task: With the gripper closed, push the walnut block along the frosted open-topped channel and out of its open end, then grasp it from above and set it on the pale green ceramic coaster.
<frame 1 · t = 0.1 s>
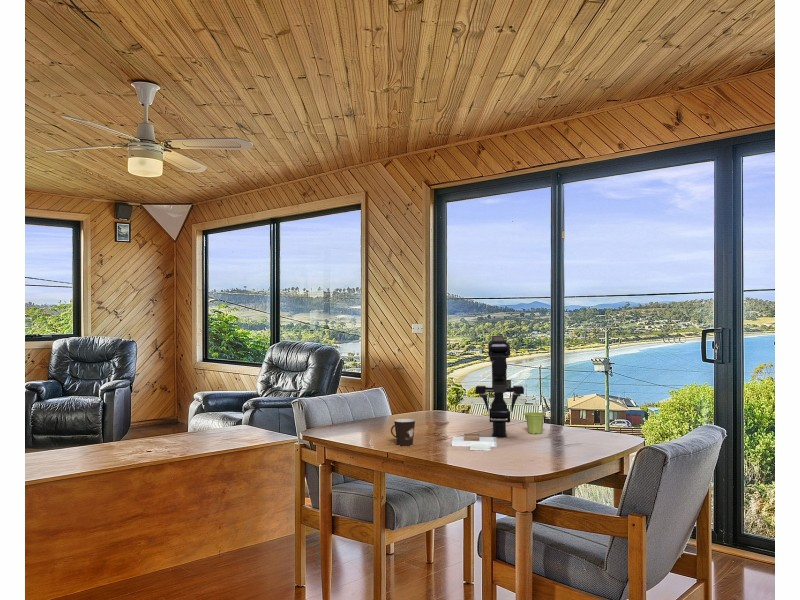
hand: (499, 411, 243), 14 cm above the table, tool pointing down, fingers open, 9 cm apart
coaster: (480, 448, 243), on the table
coffee mug: (401, 445, 252), on the table
plant pot: (535, 433, 277), on the table
block: (472, 444, 253), resting in channel
channel: (473, 444, 253), on the table
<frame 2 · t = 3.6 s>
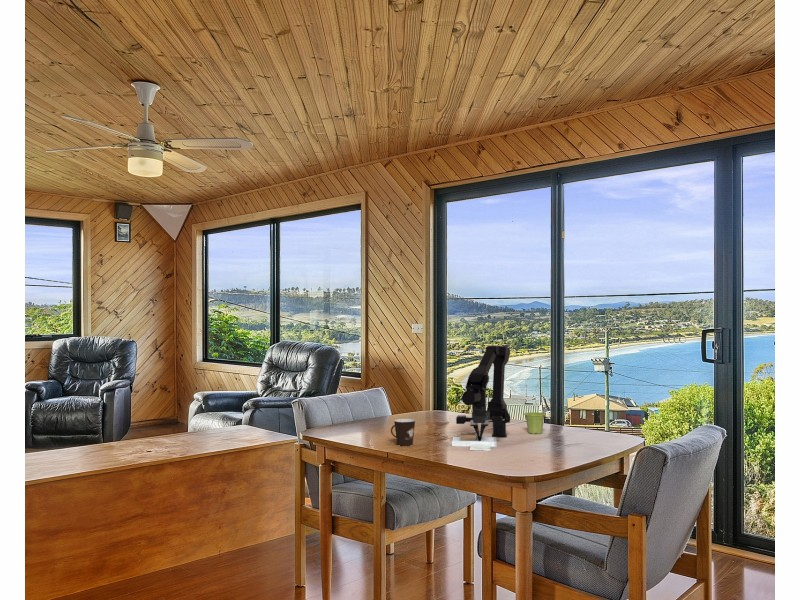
hand: (479, 441, 253), 1 cm above the table, tool pointing down, fingers closed
block: (468, 444, 253), resting in channel, touching gripper
everything else where it was.
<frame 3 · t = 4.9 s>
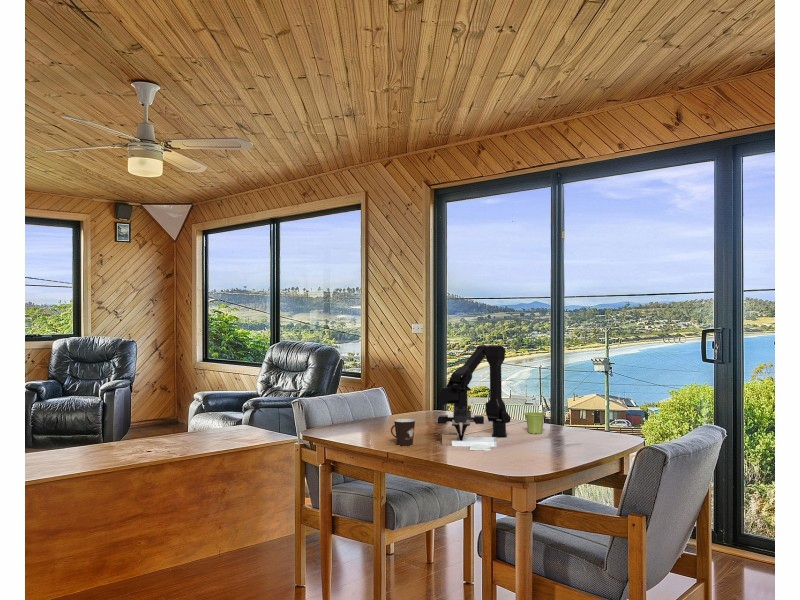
hand: (461, 440, 254), 1 cm above the table, tool pointing down, fingers closed
block: (449, 443, 254), on the table, touching gripper
everything else where it was.
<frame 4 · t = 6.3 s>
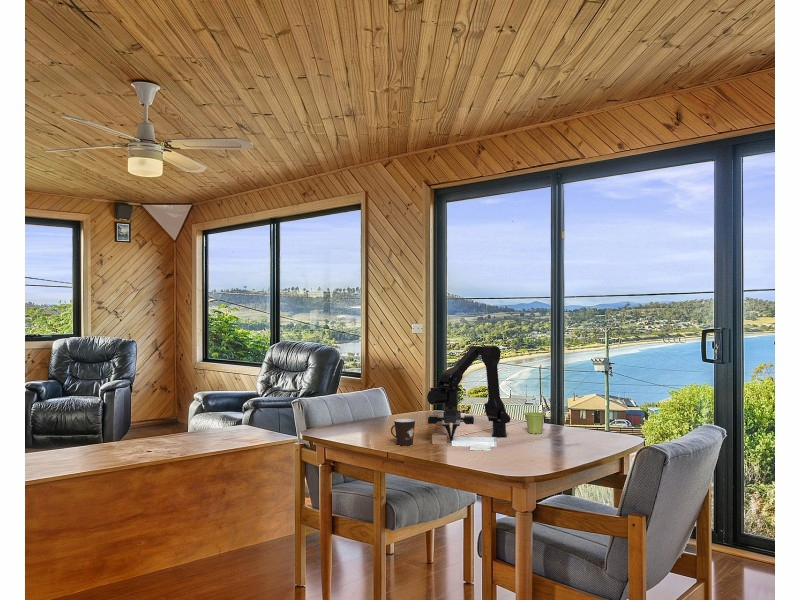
hand: (451, 440, 254), 1 cm above the table, tool pointing down, fingers closed
block: (439, 444, 255), on the table
everything else where it was.
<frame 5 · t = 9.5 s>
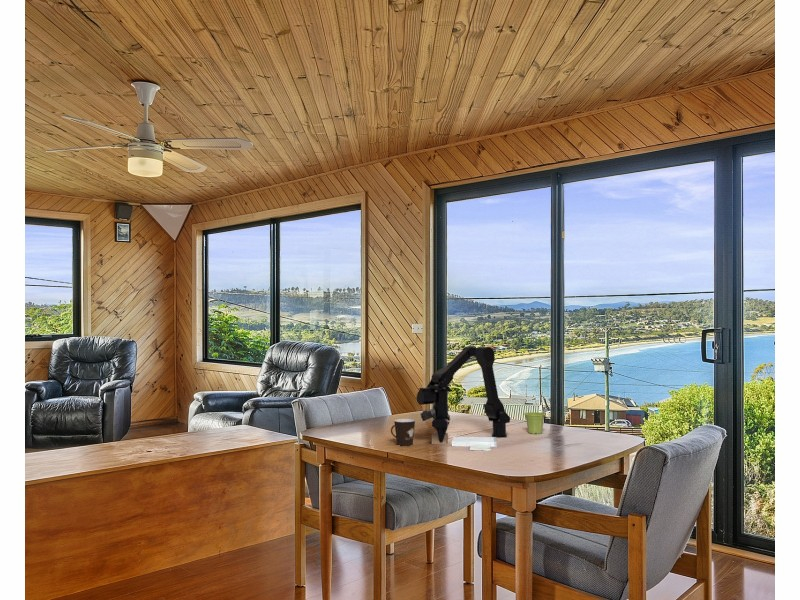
hand: (441, 441, 255), 1 cm above the table, tool pointing down, fingers closed on block, 5 cm apart
block: (439, 443, 255), on the table, touching gripper
everything else where it was.
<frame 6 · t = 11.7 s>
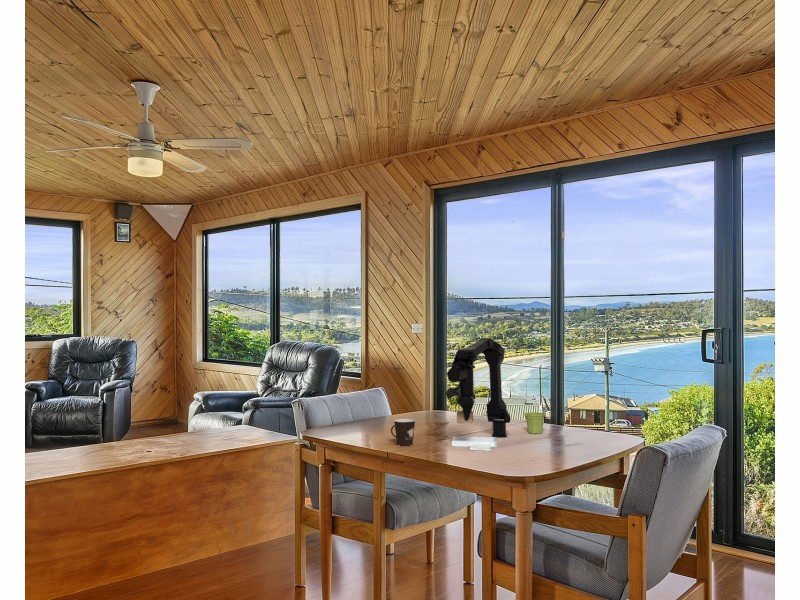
hand: (467, 419, 247), 11 cm above the table, tool pointing down, fingers closed on block, 5 cm apart
block: (465, 422, 248), point 10 cm above the table, touching gripper
everything else where it was.
when the fingers open (3 cm above the table, at t = 13.9 s): block drops 1 cm, resting on coaster.
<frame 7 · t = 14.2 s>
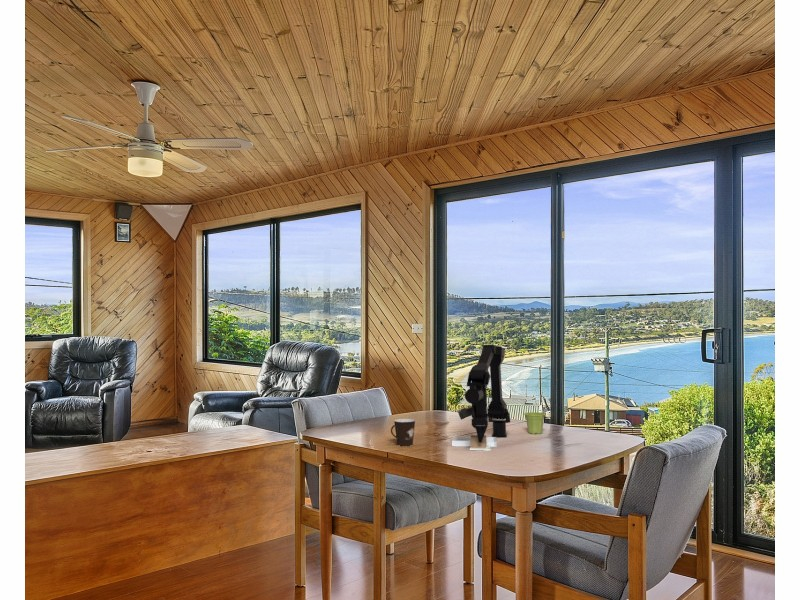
hand: (480, 440, 243), 3 cm above the table, tool pointing down, fingers open, 8 cm apart
block: (478, 446, 243), point 1 cm above the table, touching coaster
everything else where it was.
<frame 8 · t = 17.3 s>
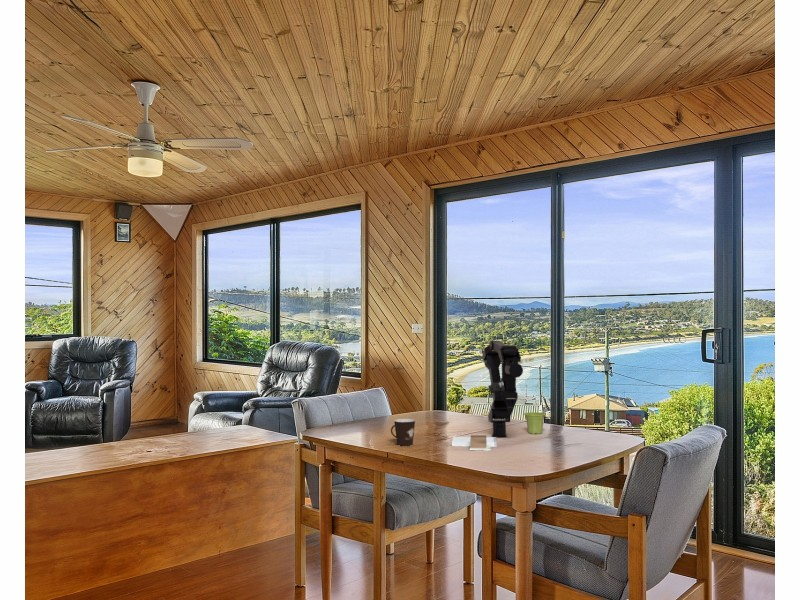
hand: (509, 413, 255), 12 cm above the table, tool pointing down, fingers open, 9 cm apart
nothing on the table moved.
at the end: block inside the target area on the coaster (0.7 cm from its centre), point 0.8 cm above the coaster's base; block tilted 0°; the gripper is holding nothing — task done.
